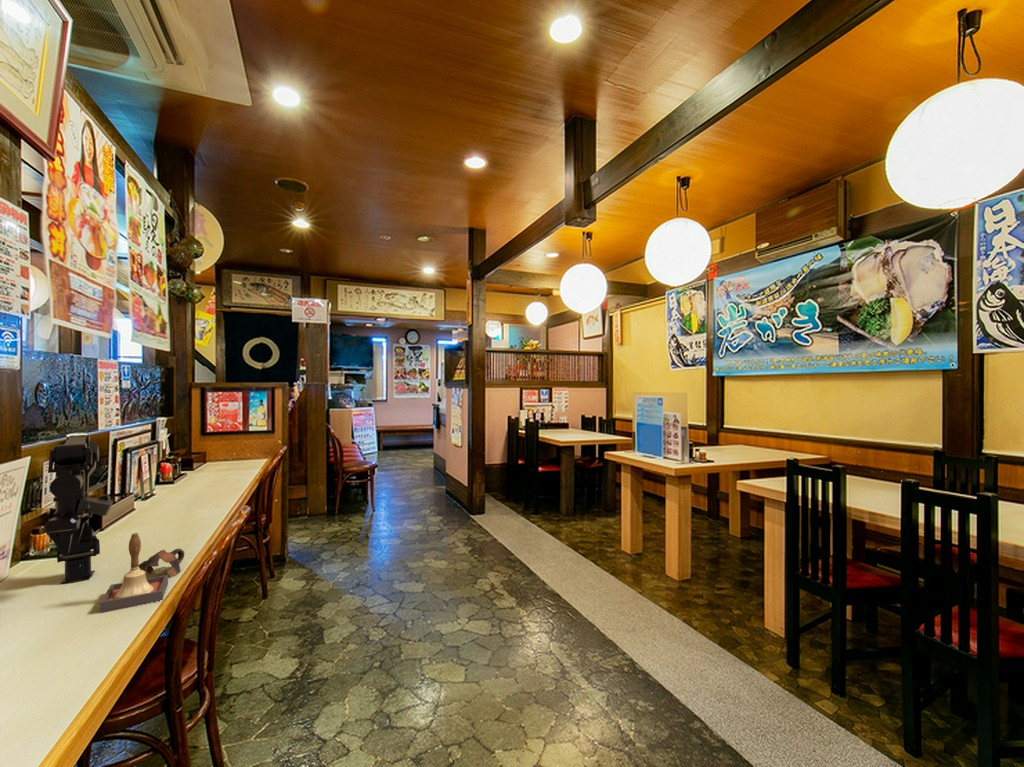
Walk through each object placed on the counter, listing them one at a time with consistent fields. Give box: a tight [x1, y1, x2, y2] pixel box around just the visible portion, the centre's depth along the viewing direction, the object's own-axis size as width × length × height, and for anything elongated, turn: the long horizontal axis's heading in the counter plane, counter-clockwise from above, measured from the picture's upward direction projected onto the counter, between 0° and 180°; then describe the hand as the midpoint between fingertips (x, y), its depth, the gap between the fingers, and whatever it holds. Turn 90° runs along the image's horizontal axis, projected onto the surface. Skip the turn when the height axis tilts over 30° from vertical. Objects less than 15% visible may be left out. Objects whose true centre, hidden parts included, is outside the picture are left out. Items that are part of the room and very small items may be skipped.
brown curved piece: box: [139, 548, 185, 578], centre depth 142 cm, size 12×9×8 cm
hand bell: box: [114, 532, 154, 599], centre depth 125 cm, size 8×8×16 cm
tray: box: [99, 574, 169, 614], centre depth 125 cm, size 13×13×2 cm
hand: (70, 549), depth 125 cm, fingers open, 9 cm apart
